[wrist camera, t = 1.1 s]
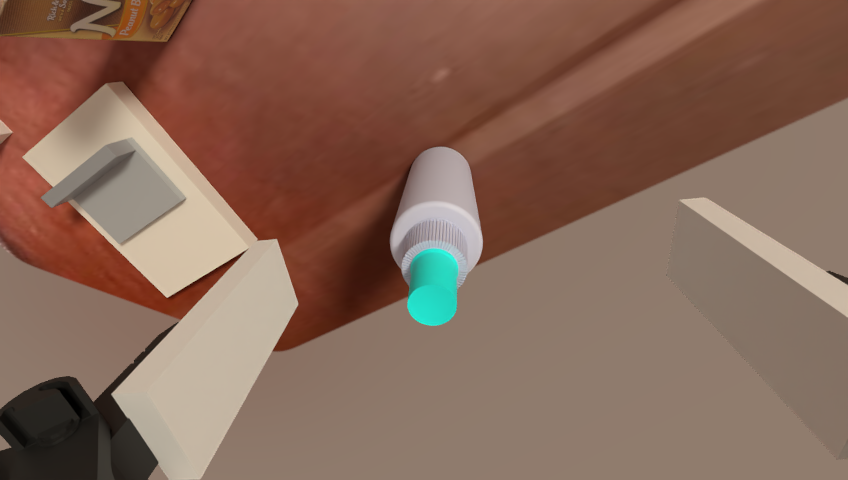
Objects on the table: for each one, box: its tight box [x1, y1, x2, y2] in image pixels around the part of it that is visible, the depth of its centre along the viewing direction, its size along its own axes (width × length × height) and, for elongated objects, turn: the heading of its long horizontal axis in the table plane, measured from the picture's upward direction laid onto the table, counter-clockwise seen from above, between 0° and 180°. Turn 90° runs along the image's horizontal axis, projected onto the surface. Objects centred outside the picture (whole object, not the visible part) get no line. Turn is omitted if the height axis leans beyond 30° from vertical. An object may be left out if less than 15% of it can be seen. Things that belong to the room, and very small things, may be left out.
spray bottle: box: [390, 147, 483, 326], centre depth 29 cm, size 6×6×22 cm
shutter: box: [41, 137, 186, 244], centre depth 38 cm, size 7×10×3 cm
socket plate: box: [23, 82, 258, 298], centre depth 41 cm, size 19×13×2 cm
